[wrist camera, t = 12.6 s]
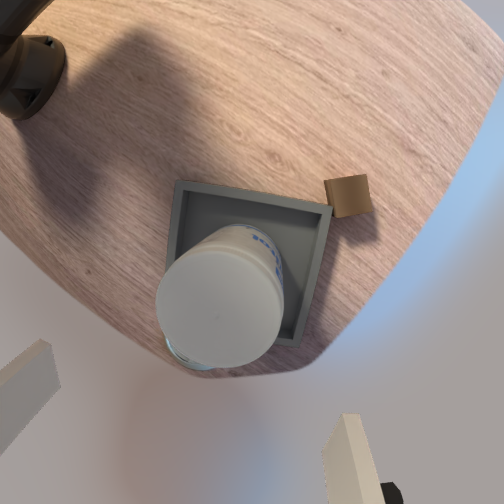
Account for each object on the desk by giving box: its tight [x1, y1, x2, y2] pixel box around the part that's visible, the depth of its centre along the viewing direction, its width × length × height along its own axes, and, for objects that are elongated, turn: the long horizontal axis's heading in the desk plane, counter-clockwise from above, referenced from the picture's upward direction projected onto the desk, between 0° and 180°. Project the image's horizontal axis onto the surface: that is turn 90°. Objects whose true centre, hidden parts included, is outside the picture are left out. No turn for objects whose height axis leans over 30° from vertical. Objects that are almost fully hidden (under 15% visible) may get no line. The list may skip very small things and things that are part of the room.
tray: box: [165, 180, 333, 348], centre depth 33 cm, size 17×17×3 cm
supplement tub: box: [156, 224, 284, 368], centre depth 27 cm, size 10×10×15 cm
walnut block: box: [324, 174, 372, 218], centre depth 30 cm, size 4×4×4 cm
